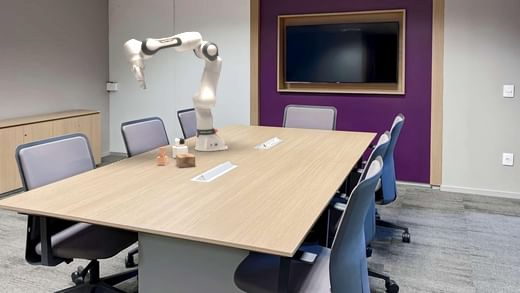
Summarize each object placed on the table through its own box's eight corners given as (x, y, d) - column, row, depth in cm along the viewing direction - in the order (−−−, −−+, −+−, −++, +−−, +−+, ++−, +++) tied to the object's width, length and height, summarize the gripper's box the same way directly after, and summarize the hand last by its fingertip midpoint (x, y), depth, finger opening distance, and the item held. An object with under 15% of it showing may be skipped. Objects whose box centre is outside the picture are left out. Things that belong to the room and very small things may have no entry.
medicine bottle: (182, 156, 290) (181, 137, 287) (188, 157, 284) (187, 138, 282) (172, 157, 285) (171, 138, 283) (178, 159, 280) (177, 139, 277)
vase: (160, 163, 268) (159, 146, 266) (168, 163, 267) (167, 146, 265) (157, 165, 264) (156, 148, 262) (164, 165, 263) (164, 148, 261)
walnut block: (191, 163, 268) (191, 153, 267) (195, 166, 260) (195, 156, 258) (176, 165, 264) (176, 154, 263) (179, 168, 256) (179, 157, 255)
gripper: (139, 62, 268) (146, 85, 269) (144, 67, 288) (151, 88, 289) (128, 65, 268) (135, 88, 268) (134, 70, 288) (141, 91, 289)
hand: (143, 88), depth 279 cm, fingers open, 8 cm apart
